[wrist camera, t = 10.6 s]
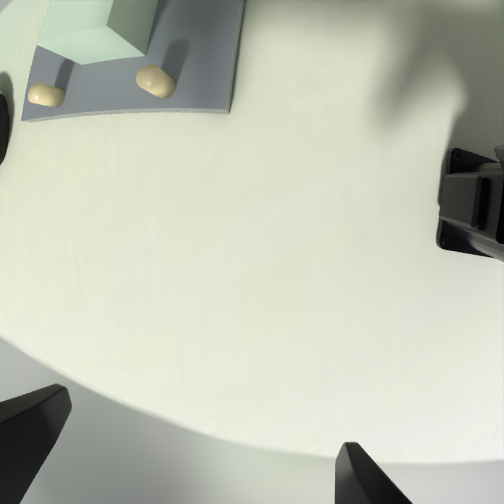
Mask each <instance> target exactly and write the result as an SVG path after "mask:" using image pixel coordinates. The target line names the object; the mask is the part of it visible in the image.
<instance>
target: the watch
mask: <svg viewBox="0 0 504 504" xmlns="http://www.w3.org/2000/svg"><path fill="white" fill-rule="evenodd" d="M8 134H9V115H8V109H7V103H6V99H5V97H4V96H3V95H2V94H1V93H0V165H1V163H2V161H3V159H4V157H5V154H6V150H7V143H8Z"/></svg>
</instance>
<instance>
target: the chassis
mask: <svg viewBox="0 0 504 504" xmlns="http://www.w3.org/2000/svg"><path fill="white" fill-rule="evenodd" d="M244 1H245V0H158V3H157V7H156V11H155V15H154V19H153V23H152V28H151V32H150V37H149V41H148V46H147V51H146V56H140V57H130V58H122V59H115V60H108V61H101V62H95V63H89V64H84V65H81V64H79V63H77V62H74V61H72V60H70V59H68V58H66V57H63V56H61V55H59V54H57V53H54V52H52V51H50V50H48V49H45V48H43V47H41V46H38V45H37V46H36V50H35V54H34V58H33V62H32V66H31V70H30V74H29V79H28V84H27V89H26V94H25V100H24V106H23V112H22V119H21V121H25V122H36V121H43V120H50V119H58V118H67V117H77V116H87V115H100V114H115V113H139V112H200V113H224V114H229V110H230V102H231V94H232V86H233V78H234V71H235V63H236V56H237V49H238V41H239V34H240V28H241V21H242V14H243V8H244Z"/></svg>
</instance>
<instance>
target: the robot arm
mask: <svg viewBox="0 0 504 504" xmlns="http://www.w3.org/2000/svg"><path fill="white" fill-rule="evenodd" d="M495 152H496V155H497V159H499V160H500V162H497V161H494V160H492V159H489V158H486V157H483V156H480V155H477V154H474V153H471V152H468V151H465V150H462V149H459V148H452V149H450V150H449V151H448V158H447V169H446V176H445V177H444V180H443V189H442V197H441V204H440V211H439V216H440V223H439V229H438V234H437V240H436V243H437V245H438V247H440V248H442V249H444V250H450V251H456V252H462V253H468V254H473V255H479V256H485V257H491V258H496V259H499V260H501V261H503V262H504V145H502V146H499V147H496V148H495ZM454 153H456V154H457V159H455V158H454ZM444 238H446V242H445V244H442V241H443V239H444ZM71 408H72V404H71V400H70V396H69V392H68V389H67V388H66V387H65V386H62V385H60V384H53V385H50V386H47V387H45V388H41V389H39V390H36V391H33V392H30V393H27V394H24V395H21V396H18V397H15V398H12V399H9V400H6V401H3V402H0V504H20V502H21V500H22V499H23V497H24V495H25V493H26V492H27V490H28V488H29V486H30V485H31V483H32V481H33V479H34V478H35V476H36V474H37V473H38V471H39V469H40V468H41V466H42V464H43V463H44V461H45V460H46V458H47V456H48V455H49V453H50V451H51V450H52V448H53V446H54V445H55V443H56V441H57V439H58V437H59V435H60V433H61V431H62V429H63V426H64V424H65V422H66V420H67V418H68V416H69V414H70V412H71ZM335 504H413V503H412V502H411V501H410V500H409V499H408V498H407V497H406V496H405V495H404V494H403V493H402V491H401V490H400V489H399V488H398V487H397V486H396V485H395V484H394V483H393V482H392V481H391V480H390V479H389V477H388V476H387V475H386V474H385V473H384V472H383V471H382V469H380V467H379V466H378V465H377V464H376V463H375V462H374V461H373V459H372V458H371V457H370V456H369V455H368V454H367V453H366V451H365V450H364V449H363V448H362V447H361V446H360V445H359V444H358V443H357V442H345V443H344V444H343V445H342V447H341V449H340V452H339V454H338V456H337V458H336V464H335Z"/></svg>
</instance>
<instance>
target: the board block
mask: <svg viewBox="0 0 504 504" xmlns="http://www.w3.org/2000/svg"><path fill="white" fill-rule="evenodd" d="M157 3H158V0H51V1H50V3H49V6H48V9H47V12H46V14H45V17H44V20H43V23H42V27H41V30H40V33H39V36H38V40H37V43H36V45H38V46H41V47H43V48H45V49H48V50H50V51H52V52H54V53H57V54H59V55H61V56H63V57H66V58H68V59H70V60H72V61H74V62H77V63H79V64H81V65H84V64H89V63H95V62H101V61H108V60H115V59H122V58H130V57H140V56H146V51H147V46H148V41H149V37H150V32H151V28H152V23H153V19H154V15H155V11H156V7H157Z"/></svg>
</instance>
